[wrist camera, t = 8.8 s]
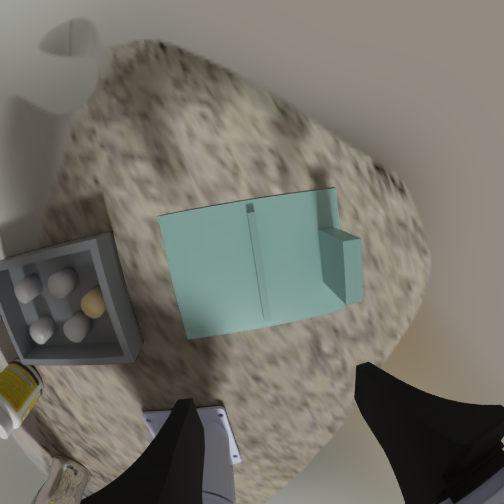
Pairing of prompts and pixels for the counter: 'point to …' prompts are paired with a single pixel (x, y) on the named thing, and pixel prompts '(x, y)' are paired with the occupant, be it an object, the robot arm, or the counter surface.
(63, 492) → the beer glass
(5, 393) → the supplement bottle
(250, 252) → the lid
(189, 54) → the counter surface
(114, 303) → the tub
